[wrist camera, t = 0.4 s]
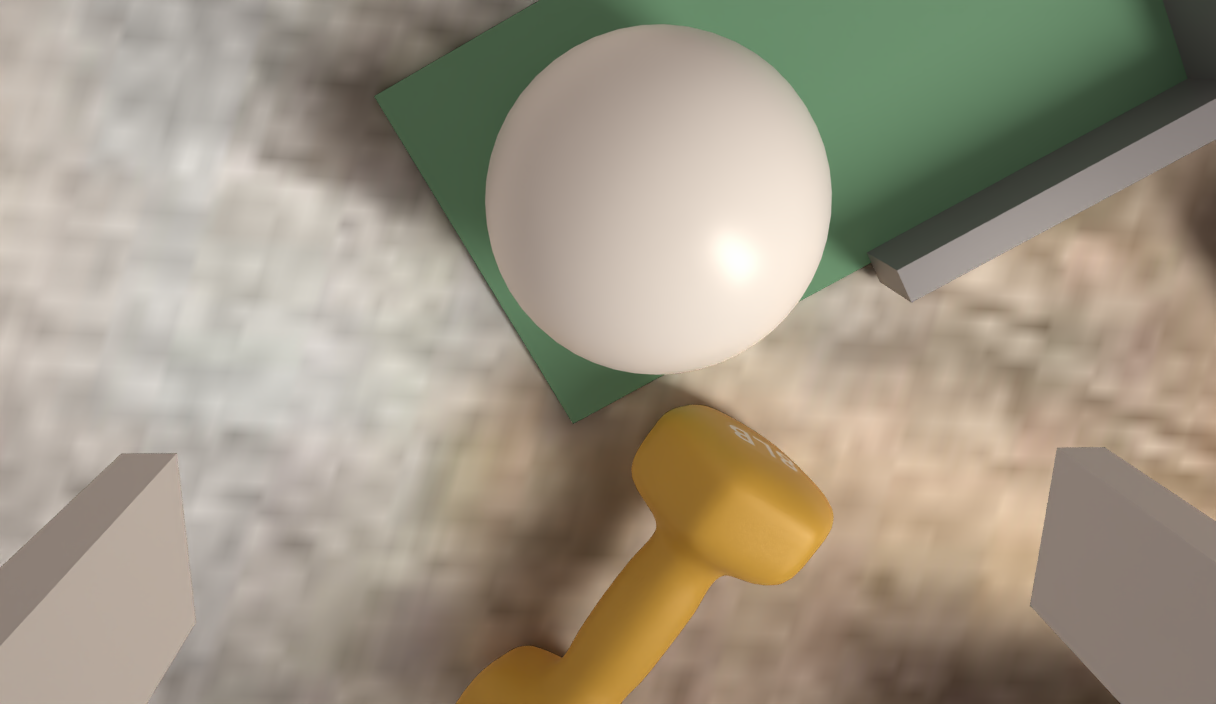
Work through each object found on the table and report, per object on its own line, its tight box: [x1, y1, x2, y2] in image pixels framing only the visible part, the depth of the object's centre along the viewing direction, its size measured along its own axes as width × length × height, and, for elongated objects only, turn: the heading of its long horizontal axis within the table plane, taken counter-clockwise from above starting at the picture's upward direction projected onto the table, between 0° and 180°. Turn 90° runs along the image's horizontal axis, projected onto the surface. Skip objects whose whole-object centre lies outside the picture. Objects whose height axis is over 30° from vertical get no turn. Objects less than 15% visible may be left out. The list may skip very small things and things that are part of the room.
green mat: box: [374, 0, 1188, 424], centre depth 39 cm, size 16×32×1 cm, turn 118°
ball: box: [485, 24, 832, 375], centre depth 34 cm, size 12×12×12 cm
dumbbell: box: [456, 405, 833, 704], centre depth 41 cm, size 19×9×8 cm, turn 145°
